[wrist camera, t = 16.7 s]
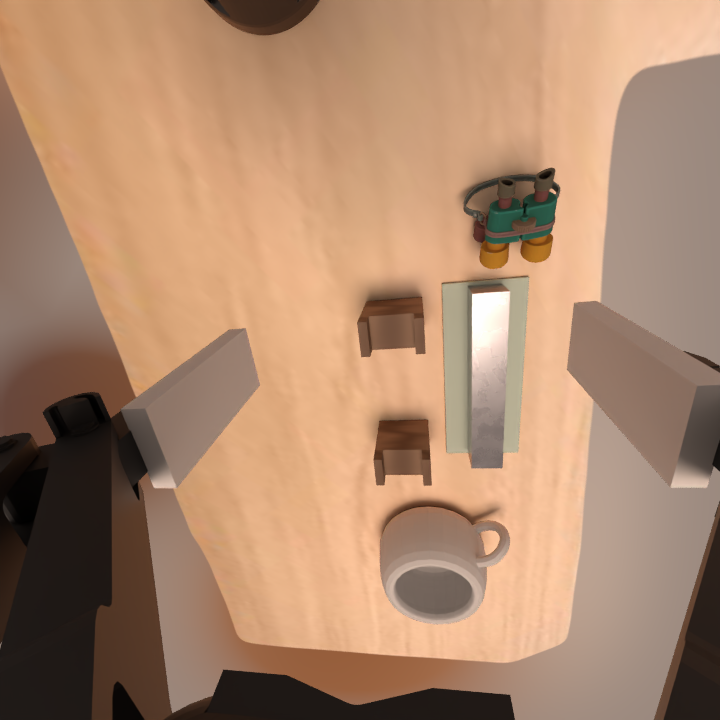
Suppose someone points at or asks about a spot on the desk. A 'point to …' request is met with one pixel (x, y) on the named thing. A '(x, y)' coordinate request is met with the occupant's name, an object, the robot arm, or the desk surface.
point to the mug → (437, 563)
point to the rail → (487, 373)
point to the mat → (458, 361)
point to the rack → (405, 437)
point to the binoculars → (516, 219)
